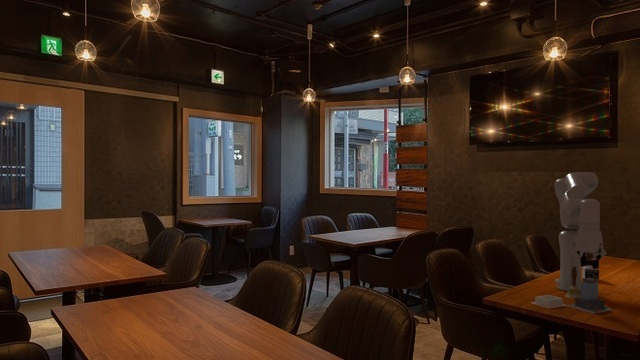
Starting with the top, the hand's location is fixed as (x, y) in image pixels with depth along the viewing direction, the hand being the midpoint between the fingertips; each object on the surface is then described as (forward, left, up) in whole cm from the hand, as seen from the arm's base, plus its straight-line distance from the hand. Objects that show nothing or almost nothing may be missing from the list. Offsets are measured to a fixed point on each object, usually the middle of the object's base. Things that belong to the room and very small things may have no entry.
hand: (589, 267), depth 193 cm
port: (0, 0, -19) cm, 19 cm away
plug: (0, 0, -18) cm, 18 cm away
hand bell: (-15, +10, -20) cm, 27 cm away
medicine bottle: (-40, +58, -20) cm, 74 cm away
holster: (-11, -12, -19) cm, 25 cm away
